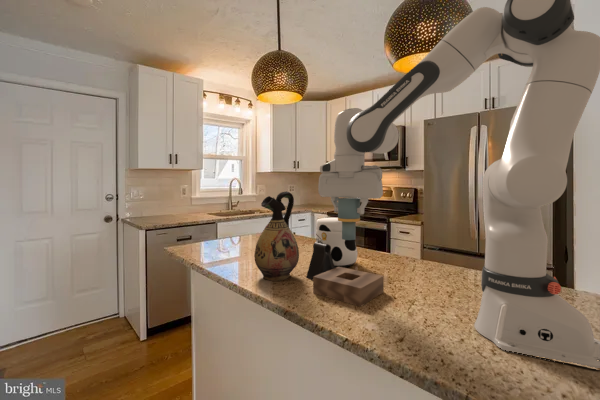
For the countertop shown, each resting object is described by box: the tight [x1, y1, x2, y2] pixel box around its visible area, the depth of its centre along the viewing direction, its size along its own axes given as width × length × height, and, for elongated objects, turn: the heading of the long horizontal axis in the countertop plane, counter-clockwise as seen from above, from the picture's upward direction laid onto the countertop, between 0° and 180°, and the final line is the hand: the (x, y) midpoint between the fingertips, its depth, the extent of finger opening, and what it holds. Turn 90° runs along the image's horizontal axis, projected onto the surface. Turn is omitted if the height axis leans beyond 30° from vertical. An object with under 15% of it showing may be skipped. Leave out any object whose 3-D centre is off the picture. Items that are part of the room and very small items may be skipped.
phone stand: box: [306, 241, 336, 281], centre depth 110 cm, size 9×6×12 cm, turn 126°
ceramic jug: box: [253, 191, 300, 282], centre depth 110 cm, size 17×15×30 cm
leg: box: [337, 197, 361, 241], centre depth 94 cm, size 6×6×12 cm
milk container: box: [315, 217, 358, 268], centre depth 126 cm, size 17×17×18 cm
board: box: [312, 267, 385, 307], centre depth 95 cm, size 16×14×5 cm
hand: (348, 213), depth 94 cm, fingers closed on leg, 6 cm apart
